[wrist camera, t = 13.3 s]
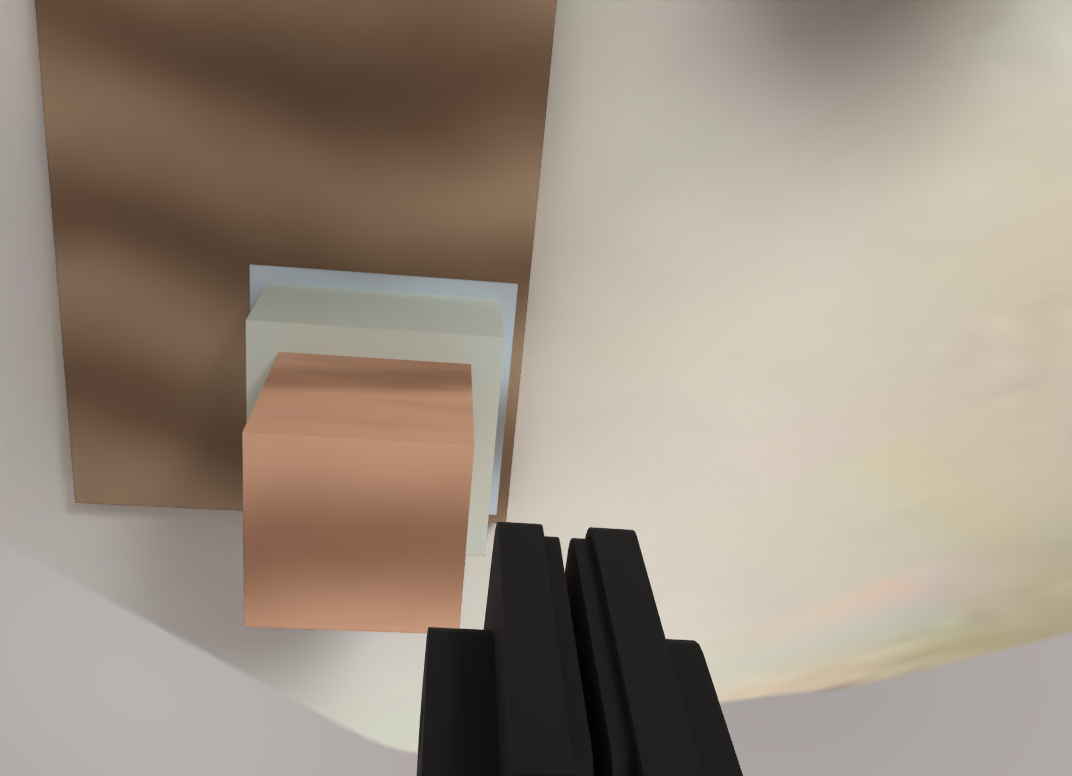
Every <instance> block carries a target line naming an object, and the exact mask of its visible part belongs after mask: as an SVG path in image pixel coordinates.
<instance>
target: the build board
mask: <svg viewBox="0 0 1072 776" xmlns="http://www.w3.org/2000/svg"><path fill="white" fill-rule="evenodd" d="M556 4H557V0H35V6H36V19H37V31H38V44H39V56H40V69H41V81H42V94H43V106H44V119H45V131H46V144H47V156H48V168H49V181H50V193H51V206H52V218H53V231H54V243H55V256H56V268H57V281H58V293H59V306H60V318H61V331H62V343H63V356H64V368H65V381H66V393H67V406H68V418H69V431H70V443H71V456H72V468H73V481H74V493H75V503H92V504H113V505H134V506H154V507H175V508H196V509H217V510H238V511H243V445H242V432H243V430H244V427H245V425H246V423H247V403H246V319H247V317H248V315H249V314H250V312H251V310H252V309H253V307H254V305H255V304H256V302H257V300H258V299H259V297H260V295H261V293H262V292H263V290H264V288H265V287H266V285H267V283H272V284H286V285H300V286H314V287H328V288H342V289H356V290H371V291H385V292H399V293H413V294H427V295H441V296H455V297H470V298H484V299H498V300H500V307H501V314H502V321H503V329H504V336H505V340H504V351H503V362H502V373H501V384H500V395H499V406H498V417H497V428H496V439H495V450H494V462H493V473H492V484H491V495H490V506H489V517H488V522H489V523H497V522H506V516H507V506H508V496H509V486H510V475H511V465H512V455H513V445H514V434H515V424H516V414H517V404H518V393H519V383H520V373H521V363H522V352H523V342H524V332H525V322H526V311H527V301H528V291H529V281H530V270H531V260H532V250H533V240H534V229H535V219H536V209H537V199H538V188H539V178H540V168H541V158H542V147H543V137H544V127H545V117H546V106H547V96H548V86H549V76H550V65H551V55H552V45H553V35H554V24H555V14H556Z"/></svg>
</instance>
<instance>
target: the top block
mask: <svg viewBox="0 0 1072 776" xmlns="http://www.w3.org/2000/svg"><path fill="white" fill-rule="evenodd" d="M242 445H243V546H244V627H266V628H293V629H320V630H347V631H374V632H401V633H427V631H428V627H438V628H457V629H459V626H460V614H461V602H462V590H463V578H464V566H465V554H466V542H467V530H468V518H469V506H470V494H471V482H472V470H473V458H474V446H475V444H474V421H473V398H472V375H471V364H460V363H445V362H429V361H414V360H399V359H383V358H368V357H352V356H337V355H322V354H306V353H291V352H279V353H278V355H277V357H276V359H275V362H274V364H273V366H272V368H271V370H270V373H269V375H268V377H267V379H266V381H265V384H264V386H263V388H262V390H261V392H260V395H259V397H258V399H257V401H256V403H255V405H254V408H253V410H252V412H251V414H250V416H249V419H248V421H247V423H246V425H245V427H244V430H243V432H242Z"/></svg>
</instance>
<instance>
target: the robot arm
mask: <svg viewBox="0 0 1072 776" xmlns="http://www.w3.org/2000/svg"><path fill="white" fill-rule="evenodd" d="M417 776H743V775H742V771H741V768H740V765H739V762H738V759H737V756H736V753H735V750H734V747H733V744H732V741H731V738H730V734H729V732H728V728H727V725H726V722H725V719H724V716H723V713H722V710H721V707H720V704H719V701H718V698H717V694H716V691H715V688H714V685H713V682H712V679H711V676H710V673H709V670H708V667H707V664H706V661H705V658H704V655H703V652H702V650H701V648H700V645H699V644H698V643H697V642H696V641H693V640H673V639H665V635H664V632H663V628H662V625H661V621H660V617H659V614H658V610H657V607H656V603H655V600H654V596H653V592H652V589H651V585H650V582H649V578H648V575H647V571H646V567H645V564H644V560H643V557H642V553H641V550H640V546H639V542H638V539H637V535H636V533H635V531H633V530H624V529H608V528H592V527H590V528H589V529H588V531H587V534H586V538H585V539H578V538H572V539H571V541H570V544H569V549H568V555H567V562H566V569H565V572H564V566H563V559H562V553H561V546H560V541H559V538H558V537H546V536H544V532H543V526H542V525H541V524H528V523H512V522H497V524H496V529H495V536H494V544H493V553H492V562H491V571H490V579H489V588H488V597H487V606H486V614H485V623H484V630H477V629H457V628H438V627H428V631H427V641H426V652H425V663H424V675H423V687H422V700H421V714H420V728H419V744H418V762H417Z"/></svg>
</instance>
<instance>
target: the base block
mask: <svg viewBox="0 0 1072 776" xmlns="http://www.w3.org/2000/svg"><path fill="white" fill-rule="evenodd" d="M504 340H505V336H504V329H503V321H502V314H501V307H500V300H498V299H484V298H470V297H455V296H441V295H427V294H413V293H399V292H385V291H371V290H356V289H342V288H328V287H314V286H300V285H286V284H272V283H267V285H266V287H265V288H264V290H263V292H262V293H261V295H260V297H259V299H258V300H257V302H256V304H255V305H254V307H253V309H252V310H251V312H250V314H249V315H248V317H247V319H246V403H247V421H248V419H249V416H250V414H251V412H252V410H253V408H254V405H255V403H256V401H257V399H258V397H259V395H260V392H261V390H262V388H263V386H264V384H265V381H266V379H267V377H268V375H269V373H270V370H271V368H272V366H273V364H274V362H275V359H276V357H277V355H278V353H279V352H291V353H306V354H322V355H337V356H352V357H368V358H383V359H399V360H414V361H429V362H445V363H460V364H471V375H472V398H473V421H474V444H475V446H474V458H473V470H472V482H471V494H470V506H469V518H468V530H467V542H466V554H465V555H474V556H485V550H486V539H487V528H488V517H489V506H490V495H491V484H492V473H493V462H494V450H495V439H496V428H497V417H498V406H499V395H500V384H501V373H502V362H503V351H504Z"/></svg>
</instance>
